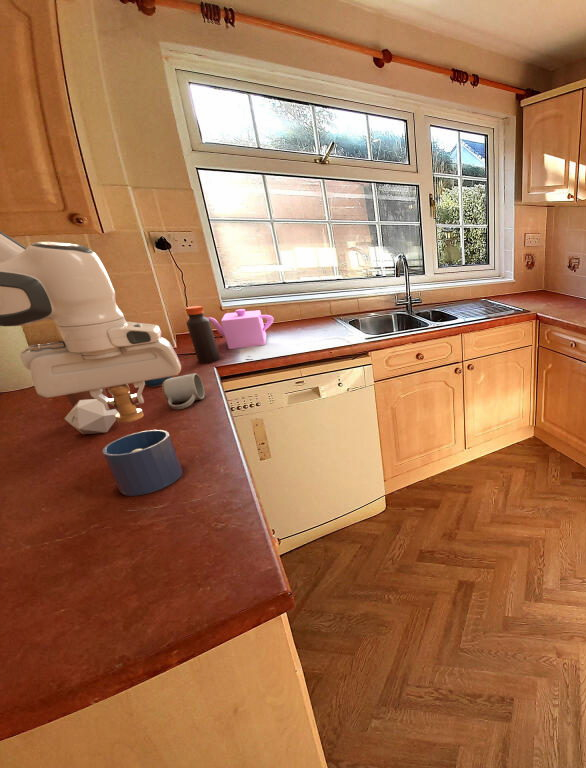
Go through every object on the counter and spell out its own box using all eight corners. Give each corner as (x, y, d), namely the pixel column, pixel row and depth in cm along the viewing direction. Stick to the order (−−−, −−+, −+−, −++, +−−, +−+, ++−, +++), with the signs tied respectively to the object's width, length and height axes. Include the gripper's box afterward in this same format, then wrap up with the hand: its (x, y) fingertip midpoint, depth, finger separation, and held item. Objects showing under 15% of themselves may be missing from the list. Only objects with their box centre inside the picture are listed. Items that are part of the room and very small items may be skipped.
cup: (116, 502, 79) (97, 461, 76) (123, 477, 87) (107, 439, 83) (181, 484, 84) (167, 444, 81) (183, 461, 92) (170, 425, 88)
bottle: (197, 360, 157) (180, 307, 150) (218, 356, 161) (203, 304, 154) (200, 364, 153) (183, 310, 145) (222, 360, 157) (206, 307, 149)
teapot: (213, 342, 180) (203, 309, 175) (278, 334, 191) (271, 303, 185) (207, 351, 168) (197, 316, 162) (278, 342, 178) (270, 309, 173)
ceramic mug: (173, 398, 124) (165, 374, 121) (206, 393, 127) (199, 369, 124) (163, 413, 115) (153, 387, 112) (198, 407, 118) (190, 382, 115)
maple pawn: (115, 424, 80) (99, 387, 77) (118, 417, 83) (103, 380, 80) (142, 419, 82) (128, 382, 79) (144, 411, 85) (131, 376, 82)
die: (80, 431, 108) (46, 413, 99) (112, 404, 112) (82, 385, 103) (103, 446, 106) (70, 430, 97) (135, 419, 110) (107, 400, 102)
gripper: (8, 351, 68) (46, 427, 73) (166, 331, 79) (189, 398, 84) (21, 342, 73) (55, 414, 78) (168, 324, 84) (190, 388, 89)
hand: (126, 406), depth 81 cm, fingers closed on maple pawn, 2 cm apart
